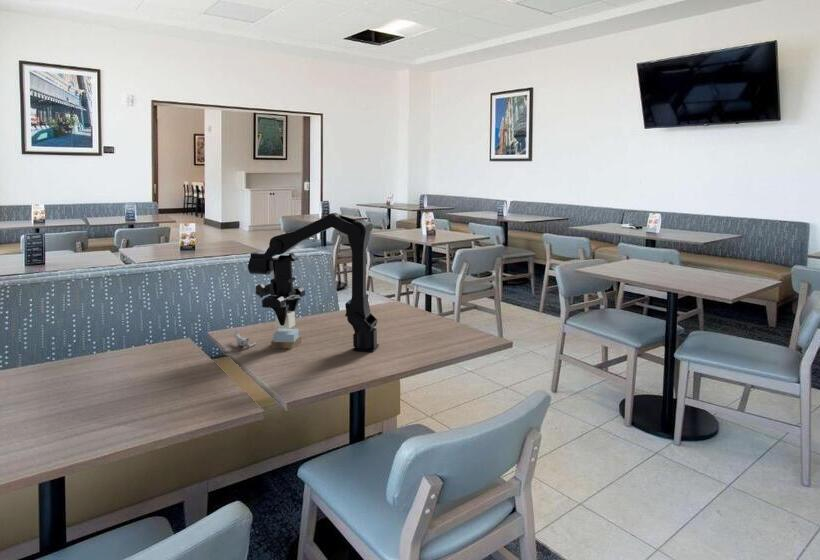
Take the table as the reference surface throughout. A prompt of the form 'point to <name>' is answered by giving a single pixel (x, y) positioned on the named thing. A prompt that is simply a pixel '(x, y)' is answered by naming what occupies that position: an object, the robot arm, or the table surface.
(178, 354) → the table surface
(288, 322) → the cube
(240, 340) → the soldier figure
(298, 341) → the tower base
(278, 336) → the tower mid
